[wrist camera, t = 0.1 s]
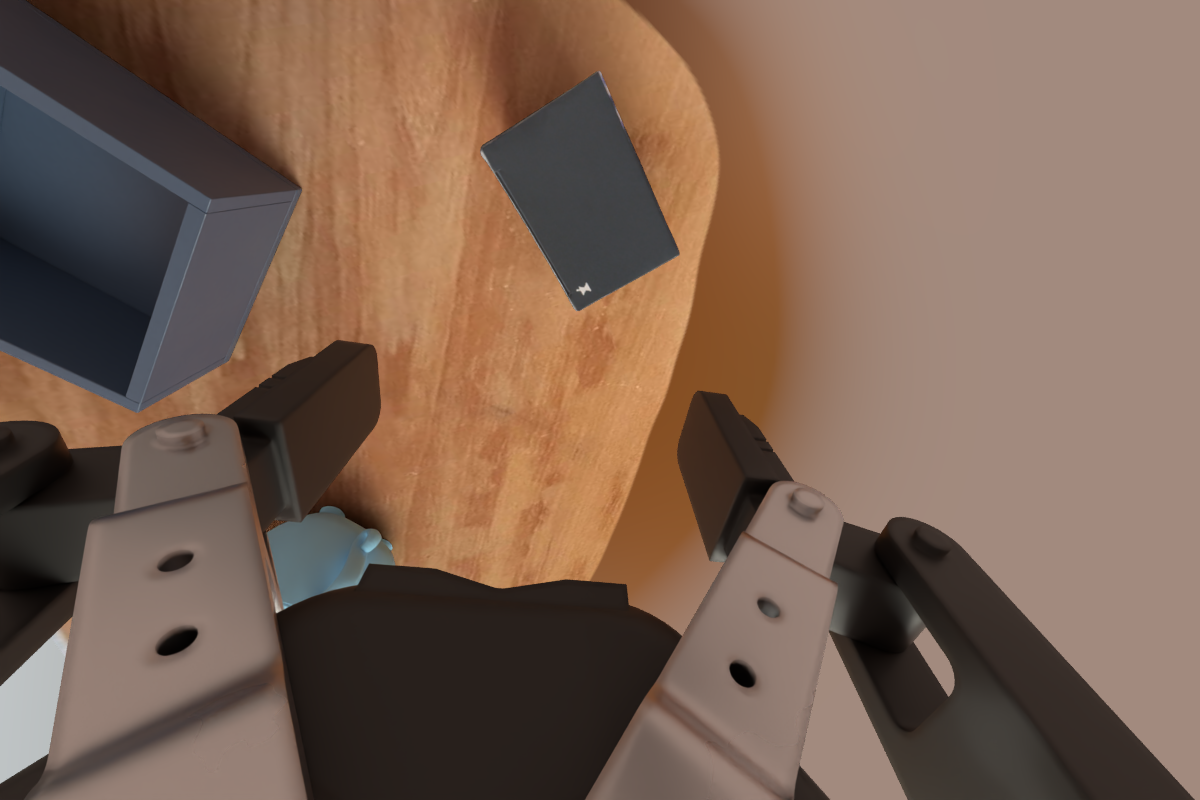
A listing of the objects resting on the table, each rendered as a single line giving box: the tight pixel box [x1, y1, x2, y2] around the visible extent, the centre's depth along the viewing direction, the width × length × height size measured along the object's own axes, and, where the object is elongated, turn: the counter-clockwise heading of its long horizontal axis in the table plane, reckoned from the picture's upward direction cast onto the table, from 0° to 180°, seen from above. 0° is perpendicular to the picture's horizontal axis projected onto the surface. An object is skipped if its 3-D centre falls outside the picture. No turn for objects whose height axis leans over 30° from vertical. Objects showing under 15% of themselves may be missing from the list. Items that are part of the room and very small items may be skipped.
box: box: [480, 71, 679, 311], centre depth 23 cm, size 8×6×11 cm
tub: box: [0, 0, 302, 413], centre depth 24 cm, size 15×15×8 cm
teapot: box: [267, 506, 395, 609], centre depth 37 cm, size 13×14×11 cm
